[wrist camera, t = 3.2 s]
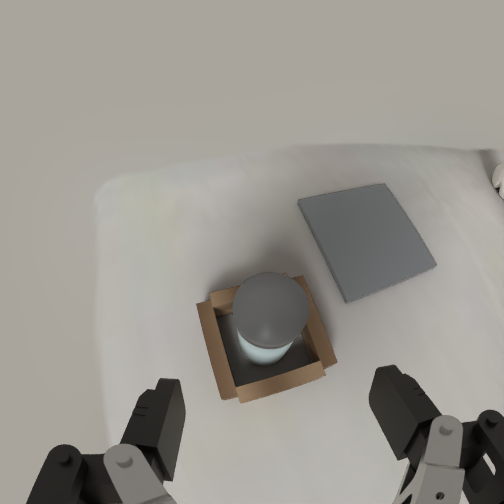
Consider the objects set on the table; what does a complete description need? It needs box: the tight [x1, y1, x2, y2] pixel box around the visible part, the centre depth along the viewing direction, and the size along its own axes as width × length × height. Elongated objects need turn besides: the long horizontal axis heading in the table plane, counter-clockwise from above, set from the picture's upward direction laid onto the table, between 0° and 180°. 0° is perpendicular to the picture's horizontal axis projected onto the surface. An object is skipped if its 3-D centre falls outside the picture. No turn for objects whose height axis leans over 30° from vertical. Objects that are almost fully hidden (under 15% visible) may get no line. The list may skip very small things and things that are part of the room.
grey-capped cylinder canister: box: [232, 272, 309, 366], centre depth 19 cm, size 4×4×8 cm
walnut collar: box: [196, 273, 337, 403], centre depth 21 cm, size 9×9×2 cm
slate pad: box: [297, 184, 437, 303], centre depth 28 cm, size 12×12×1 cm
